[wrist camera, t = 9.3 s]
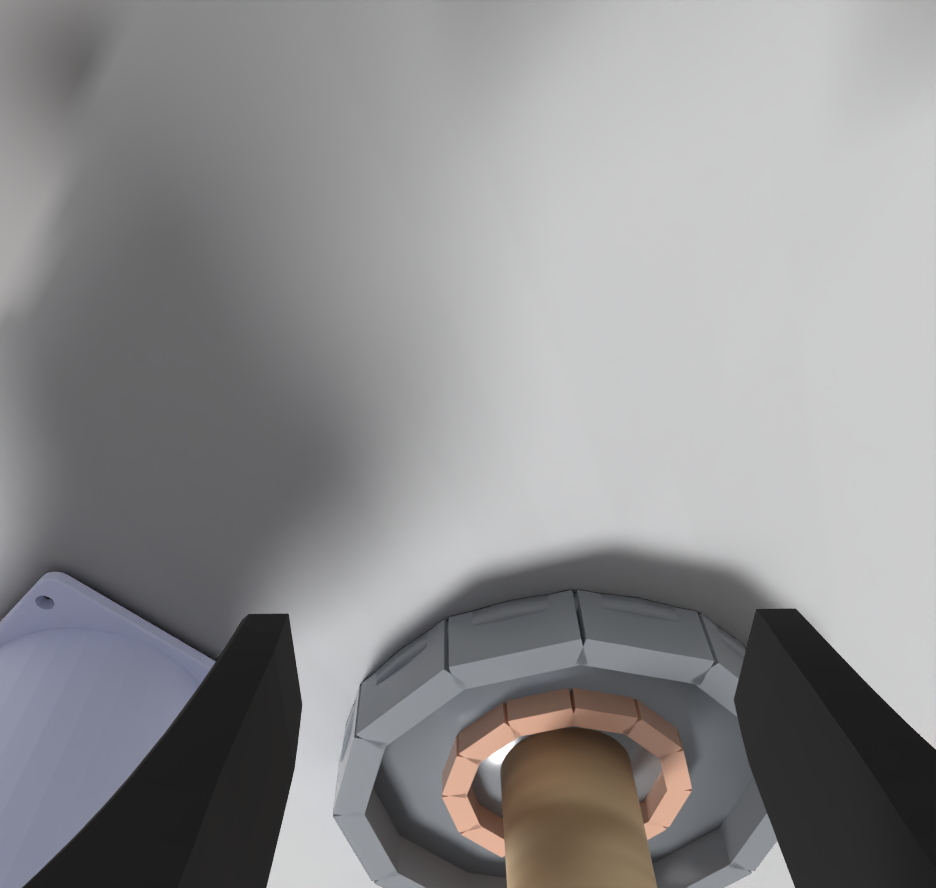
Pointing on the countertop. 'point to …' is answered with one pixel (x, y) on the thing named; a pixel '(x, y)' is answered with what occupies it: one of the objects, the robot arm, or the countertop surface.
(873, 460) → the countertop surface
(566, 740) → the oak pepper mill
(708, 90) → the countertop surface
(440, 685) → the round tray
